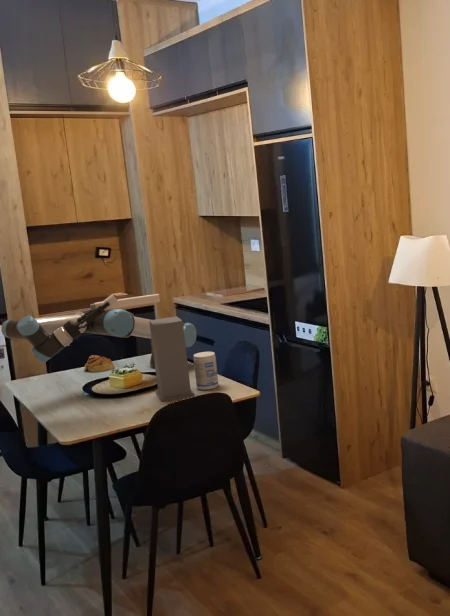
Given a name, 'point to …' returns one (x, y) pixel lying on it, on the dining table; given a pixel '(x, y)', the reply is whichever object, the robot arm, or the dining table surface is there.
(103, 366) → the pastry
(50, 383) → the dining table surface
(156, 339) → the stand
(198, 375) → the supplement tub
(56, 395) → the dining table surface
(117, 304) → the beige square bar
